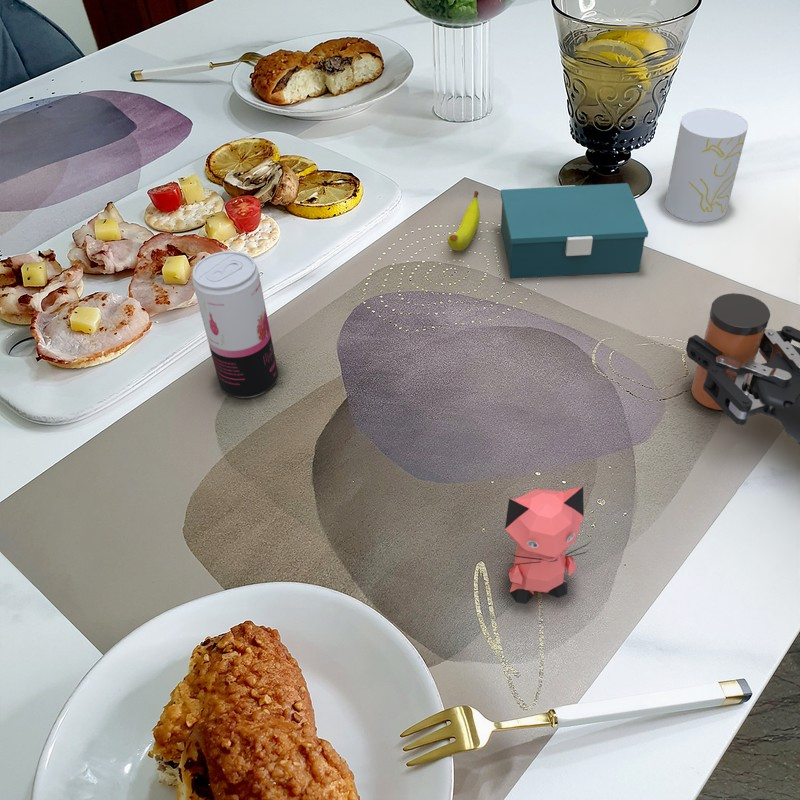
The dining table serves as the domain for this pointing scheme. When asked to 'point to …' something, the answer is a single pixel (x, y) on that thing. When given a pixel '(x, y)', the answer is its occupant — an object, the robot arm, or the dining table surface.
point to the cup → (705, 164)
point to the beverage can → (236, 323)
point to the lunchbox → (572, 230)
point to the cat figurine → (543, 540)
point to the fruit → (466, 227)
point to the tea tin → (732, 335)
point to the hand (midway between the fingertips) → (710, 332)
